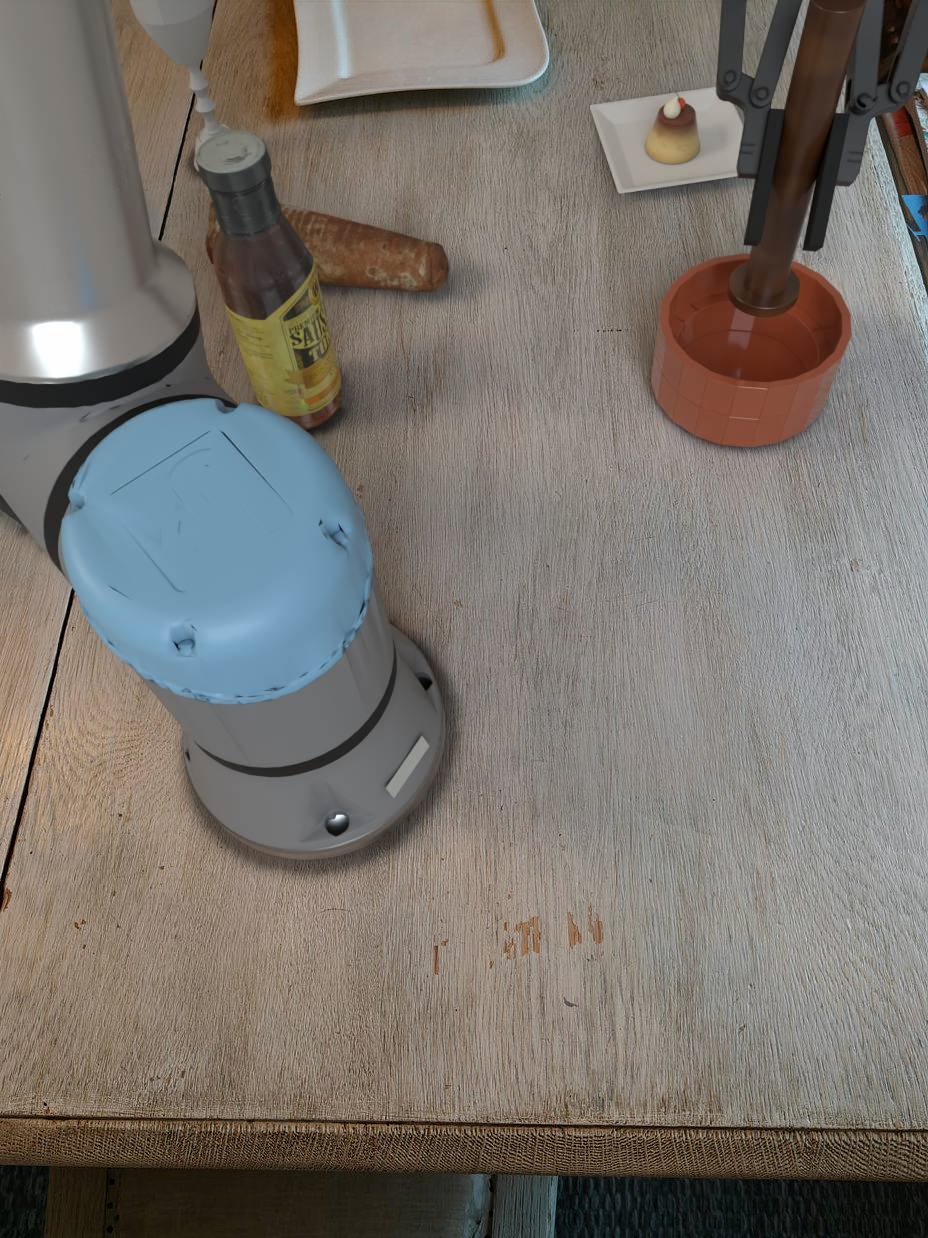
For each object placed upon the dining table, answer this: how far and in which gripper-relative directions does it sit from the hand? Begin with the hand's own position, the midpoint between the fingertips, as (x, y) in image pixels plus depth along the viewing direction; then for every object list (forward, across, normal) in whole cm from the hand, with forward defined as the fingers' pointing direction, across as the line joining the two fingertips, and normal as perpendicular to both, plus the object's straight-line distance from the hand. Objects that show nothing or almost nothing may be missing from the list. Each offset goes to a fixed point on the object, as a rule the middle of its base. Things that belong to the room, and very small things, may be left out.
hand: (782, 244), depth 53 cm
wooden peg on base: (+2, 0, -8) cm, 8 cm away
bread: (+3, +32, -19) cm, 37 cm away
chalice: (-6, +47, -28) cm, 54 cm away
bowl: (+8, 0, -14) cm, 16 cm away
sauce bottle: (+13, +31, -9) cm, 35 cm away
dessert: (-10, +8, -32) cm, 34 cm away
